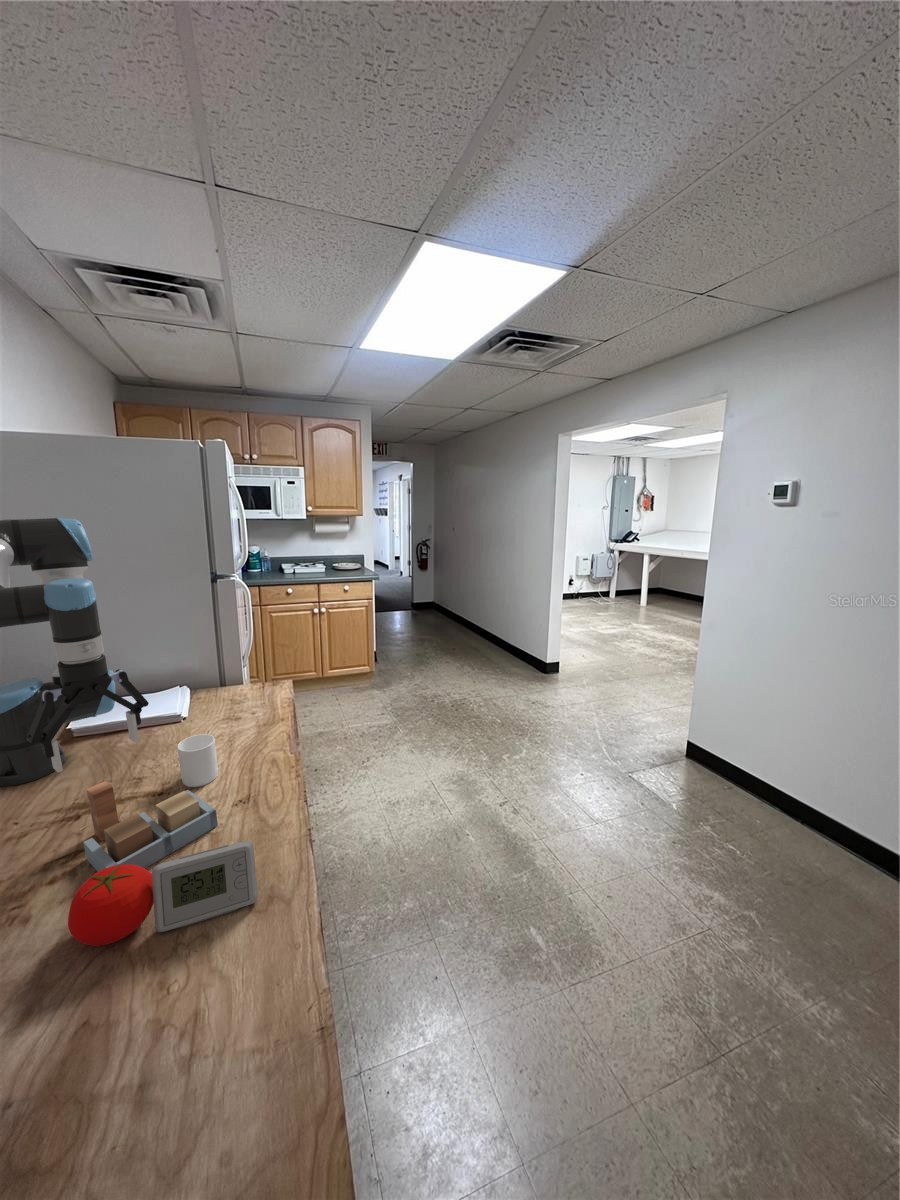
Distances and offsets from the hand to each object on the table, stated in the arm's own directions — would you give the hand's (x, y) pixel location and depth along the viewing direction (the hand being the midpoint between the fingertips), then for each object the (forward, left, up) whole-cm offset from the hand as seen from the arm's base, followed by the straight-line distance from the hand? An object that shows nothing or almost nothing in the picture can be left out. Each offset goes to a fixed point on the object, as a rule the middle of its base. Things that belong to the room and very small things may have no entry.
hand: (98, 754), depth 98 cm
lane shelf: (+11, +4, -19) cm, 22 cm away
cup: (-5, +22, -19) cm, 30 cm away
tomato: (+27, -9, -19) cm, 34 cm away
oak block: (+12, +9, -19) cm, 24 cm away
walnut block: (+6, -1, -19) cm, 20 cm away
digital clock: (+36, +2, -19) cm, 41 cm away
